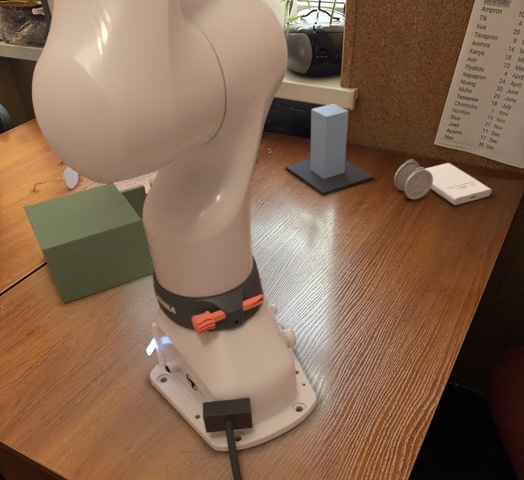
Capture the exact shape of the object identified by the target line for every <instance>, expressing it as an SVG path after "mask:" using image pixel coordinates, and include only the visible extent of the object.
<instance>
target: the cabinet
mask: <svg viewBox="0 0 524 480" xmlns="http://www.w3.org/2000/svg"><path fill="white" fill-rule="evenodd" d="M120 191H121V190H120V189H119V188H118V187H117V185H116V184H115V182H114V183H109V184H101V185H99V186H94V187H92V188H88V189H84V190H81V191H77V192H73V193H70V194H66V195H62V196H59V197H55V198H51V199H49V200H48V199H47V200H44V201H40V202H37V203H33V204H30V205H29V204H28V205H25V206H23V209H24V212H25V214H26V216H27V219H28V222H29V224H30V226H31V228H32V231H33V233H34V235H35V238H36V240H37V243H38V245H39V248H40V250H41V253H42V255H43V257H44V260H45V262H46V264H47V266H48V269H49V272H50V274H51V275H52V278H53V281H54V282H55V285H56V288H57V290H58V293H59V295H60V298H61V300H62V302H63V304H67V303H70V302H73V301H76V300H79V299H82V298H86V297H87V296H91V295H93V294H97V293H100V292H103V291H106V290H109V289H111V288H114V287H118V286H120V285H123V284H126V283H129V282H132V281H135V280H138V279H140V278H144V277H146V276H150V275H153V271H154V266H153V262H152V260H151V256H150V252H149V248H148V244H147V240H146V236H145V232H144V228H143V223H142V220H141V219H140V217H139V216H138V215H137V213H136V212H135V211H134V209H133V208H132V207H131V205H130V204H129V203H128V202H127V200H126V199H125V198H124V196H123V195H122V194H121V192H120Z"/></svg>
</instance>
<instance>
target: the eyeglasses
mask: <svg viewBox="0 0 524 480" xmlns="http://www.w3.org/2000/svg"><path fill="white" fill-rule="evenodd" d="M63 163H64V162H63V161H62V160H61V162H60V164H63ZM60 181H64V183H65V184H66V186H67V188H68V189H73V188H75V187H76V185H77V184H78V182H79V174H78V173H77V172H75V171H74V170H72V169H71V168H70V167H68V166H67V167H66V169H64V171H63V172H62V178H61V179H60V178H59V179H54V180H50V181H49V180H48V181H44V182H38V183H35V185H34V187H33V192H35V191H36V186H37V185H41V184H47V183H54V182H60Z"/></svg>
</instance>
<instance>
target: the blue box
mask: <svg viewBox="0 0 524 480" xmlns="http://www.w3.org/2000/svg"><path fill="white" fill-rule="evenodd" d="M310 111H311V113H310V114H311V115H310V124H311V125H310V159H311V164H310V170H311V171H313V172H314V173H316V174H317V175H319V176H320V177H322V178H323V179H326V178H329V177H332V176H335V175H339V174H342V173H344V171H345V160H346V154H347V153H346V152H347V139H348V125H349V110H348V109H346V108H344V107H341V106H340V105H338V104H335V103H330V104H326V105H322V106H318V107H314V108H311V110H310Z"/></svg>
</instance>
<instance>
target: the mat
mask: <svg viewBox="0 0 524 480" xmlns="http://www.w3.org/2000/svg"><path fill="white" fill-rule="evenodd" d="M310 164H311V158H310V159H306V160H303V161H299V162H296V163H293V164H288V165H285V170H287V171H288V172H289V173H291V174H292V175H293V176H295V177H296V178H298V179H299V180H301V181H302V182H304V184H306V185H308V186H309V187H310V188H312V189H313V190H314V191H316V192H317V193H318V194H320V195H322V196H325V195H329V194H331V193H335V192H338V191H341V190H344V189H348V188H350V187H353V186H356V185H360V184H362V183H366V182H369V181H371V180H373V179H374V176H373V175H371V173H368V172H366V171H365V170H363V169H362V168H360V167H358V166H357V165H355V164H353V163H352V162H350V161H348V160H346V159H345V171H344V173H342V174H339V175H335V176H332V177H329V178H326V179H323V178H322V177H320V176H319V175H317V174H316V173H314V172H313V171H311V170H310Z"/></svg>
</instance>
